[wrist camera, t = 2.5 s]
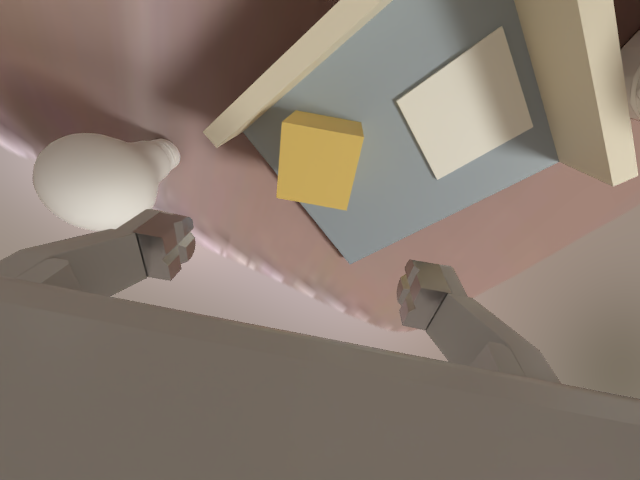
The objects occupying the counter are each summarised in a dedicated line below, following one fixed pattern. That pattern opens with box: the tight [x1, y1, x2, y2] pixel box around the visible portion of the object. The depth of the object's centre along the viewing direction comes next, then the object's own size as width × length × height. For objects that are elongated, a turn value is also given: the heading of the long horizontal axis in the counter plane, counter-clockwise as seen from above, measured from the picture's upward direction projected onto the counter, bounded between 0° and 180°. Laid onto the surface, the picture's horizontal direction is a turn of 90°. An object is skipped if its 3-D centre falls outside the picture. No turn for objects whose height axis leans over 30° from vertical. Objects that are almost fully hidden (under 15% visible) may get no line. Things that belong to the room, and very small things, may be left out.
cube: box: [276, 110, 364, 211], centre depth 19 cm, size 5×5×5 cm
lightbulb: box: [33, 133, 180, 231], centre depth 19 cm, size 6×6×11 cm
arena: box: [203, 0, 638, 264], centre depth 19 cm, size 17×20×6 cm
